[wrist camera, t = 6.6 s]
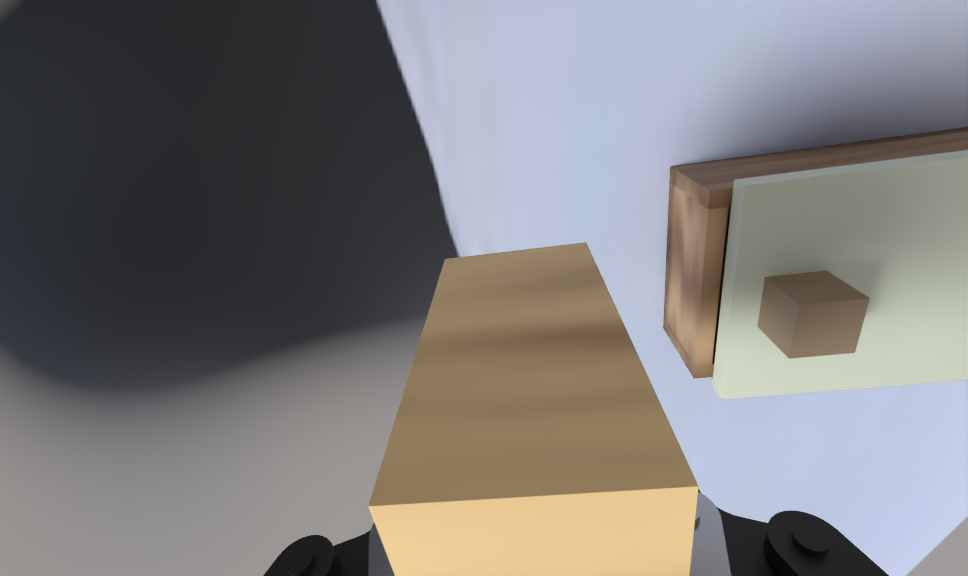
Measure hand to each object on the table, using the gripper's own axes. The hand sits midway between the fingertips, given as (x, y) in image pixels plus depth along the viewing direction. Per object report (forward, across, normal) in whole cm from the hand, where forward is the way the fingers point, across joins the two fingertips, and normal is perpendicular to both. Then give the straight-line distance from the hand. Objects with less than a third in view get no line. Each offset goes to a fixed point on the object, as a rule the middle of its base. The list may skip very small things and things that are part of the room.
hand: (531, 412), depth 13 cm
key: (+2, 0, 0) cm, 2 cm away
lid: (+13, -19, +4) cm, 24 cm away
